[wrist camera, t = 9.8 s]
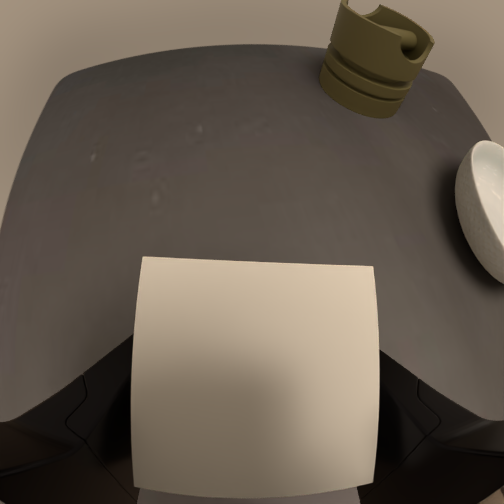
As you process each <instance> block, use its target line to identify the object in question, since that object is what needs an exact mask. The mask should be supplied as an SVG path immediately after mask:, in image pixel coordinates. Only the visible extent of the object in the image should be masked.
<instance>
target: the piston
mask: <svg viewBox="0 0 504 504" xmlns="http://www.w3.org/2000/svg"><path fill="white" fill-rule="evenodd" d="M330 41H331V43H330V44H329V45H328V48H327V52H326V55H325V59H324V62H323V65H322V69H321V72H320V75H319V82H320V85H321V87H322V88H323V90H324V91H325V92H326V93H327V94H328V95H329V96H330V97H331V98H332V99H333V100H335V101H336V102H337V103H339V104H340V105H342V106H344V107H345V108H347V109H349V110H351V111H354V112H356V113H358V114H361V115H364V116H368V117H372V118H389V117H391V116H393V115H394V114H395V113H396V112H397V110H398V108H399V107H400V105H401V103H402V102H403V100H404V98H405V96H406V94H407V93H408V91H409V89H410V87H411V86H412V81H413V80H414V79H415V78H416V77H417V75H418V73H419V71H420V69H421V68H422V66H423V64H424V62H425V60H426V58H427V56H428V54H429V53H430V51H431V49H432V47H433V45H434V43H435V42H434V39H433V38H432V36H431V35H430V34H429V33H428V32H427V31H426V30H425V29H423V28H422V27H421V26H419V25H418V24H417V23H415V22H414V21H412V20H411V19H409V18H408V17H406V16H404V15H402V14H400V13H399V12H396V11H394V10H392V9H390V8H388V7H385V6H383V5H379V7H378V8H377V9H376V10H375V11H374V12H372V13H370V14H366V15H359V14H358V13H356V12H355V11H353V10H352V9H351V8H350V7H349V6H348V0H341V3H340V7H339V10H338V14H337V17H336V21H335V24H334V28H333V31H332V34H331V38H330Z"/></svg>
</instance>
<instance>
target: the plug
mask: <svg viewBox="0 0 504 504" xmlns="http://www.w3.org/2000/svg"><path fill="white" fill-rule="evenodd" d="M378 418H379V334H378V316H377V302H376V290H375V280H374V271H373V266H348V265H321V264H295V263H270V262H246V261H224V260H202V259H182V258H162V257H143V259H142V266H141V273H140V280H139V288H138V297H137V306H136V316H135V327H134V339H133V354H132V375H131V445H132V464H133V478H134V487H138V488H143V489H148V490H154V491H160V492H166V493H173V494H181V495H190V496H200V497H215V498H274V497H288V496H299V495H308V494H316V493H323V492H329V491H335V490H341V489H346V488H351V487H356V486H360V485H365V484H369V483H373V476H374V468H375V459H376V448H377V435H378Z"/></svg>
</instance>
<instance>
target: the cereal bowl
mask: <svg viewBox="0 0 504 504" xmlns="http://www.w3.org/2000/svg"><path fill="white" fill-rule="evenodd" d="M455 199H456V209H457V213H458V217H459V222H460V225H461V226H462V230H463V233H464V235H465V238H466V239H467V241H468V243H469V246H470V247H471V249H472V251H473V253H474V254H475V256H476V257H477V259H478V260H479V261H480V263H481V264H482V266H483V267H484V268H485V270H487V271H488V272H489V273H490V274H491V275H492V276H493V277H494V278H495V279H497V280H498V281H499V282H502V283H503V284H504V148H503V147H502V146H500V145H498V144H496V143H494V142H491V141H480V142H478V143H476V144H475V145H474V146H473V147H472V148H471V149H470V150H469V151H468V153H467V154H466V156H465V157H464V159H463V160H462V162H461V164H460V166H459V169H458V171H457V175H456V184H455Z"/></svg>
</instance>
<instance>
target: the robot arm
mask: <svg viewBox="0 0 504 504" xmlns="http://www.w3.org/2000/svg"><path fill="white" fill-rule="evenodd" d="M133 339H134V334H133V335H131V336H130V337H129V338H128V339H126V340H125V341H124V342H122V343H121V344H120V345H119V346H117V347H116V348H115V349H113V350H112V351H111V352H110V353H108V354H107V355H106V356H104V357H103V358H102V359H101V360H99V361H98V362H97V363H96V364H94V365H93V366H92V367H90V368H89V369H88V370H87V371H85V372H84V373H83V375H80V376H79V377H78V378H76V379H75V380H74V381H72V382H71V383H70V384H68V385H67V386H66V387H64V388H63V389H62V390H60V391H59V392H57V393H56V394H54V395H53V396H51V397H50V398H48V399H46V400H45V401H43V402H42V403H40V404H38V405H37V406H35V407H34V408H32V409H30V410H29V411H27V412H25V413H24V414H22V415H21V416H19V417H17V418H15V419H13V420H10V421H6V422H0V504H137V500H138V495H139V490H140V488H138V487H134V478H133V464H132V445H131V375H132V354H133ZM357 490H358V495H359V499H360V504H504V420H503V421H491V420H487V419H484V418H481V417H479V416H477V415H476V414H474V413H472V412H471V411H469V410H467V409H465V408H464V407H462V406H460V405H459V404H457V403H455V402H454V401H452V400H450V399H449V398H447V397H445V396H444V395H442V394H441V393H439V392H438V391H436V390H435V389H433V388H432V387H430V386H429V385H428V384H426V383H425V382H423V381H422V380H421V379H418V377H417V376H415V375H414V374H412V373H411V372H410V371H408V370H407V369H406V368H404V367H403V366H402V365H400V364H399V363H397V362H396V361H395V360H393V359H392V358H391V357H389V356H388V355H387V354H385V353H384V352H382V351H381V350H380V349H379V418H378V435H377V448H376V459H375V468H374V476H373V483H369V484H365V485H360V486H357Z"/></svg>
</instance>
